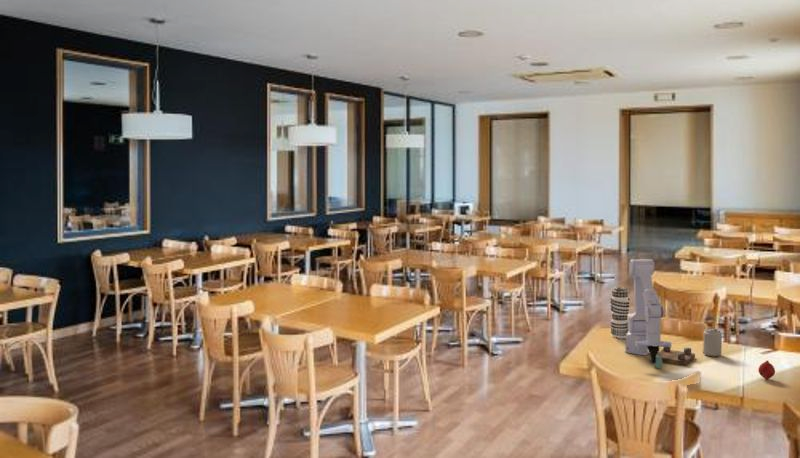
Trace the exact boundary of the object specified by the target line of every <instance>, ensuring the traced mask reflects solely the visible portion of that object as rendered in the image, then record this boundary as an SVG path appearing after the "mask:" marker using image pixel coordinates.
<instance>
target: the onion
mask: <svg viewBox="0 0 800 458" xmlns="http://www.w3.org/2000/svg"><path fill="white" fill-rule="evenodd" d="M757 371H758V373H759V374H760V377H762V378H763V379H765V380H766V381H767V380H769V379H771V378H772V377H774V376H775V374H776V369H775V366H774V365H773V364H772V363H771V362H769V360H765V361H764V362H762V363H761V364H760V365H759V367H758V370H757Z"/></svg>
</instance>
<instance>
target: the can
mask: <svg viewBox="0 0 800 458" xmlns="http://www.w3.org/2000/svg"><path fill="white" fill-rule="evenodd" d="M722 338H723V334H722V332H721V329H720V328H716V327H707V328H705V329H704V331H703V344H702V345H703V346H702V347H703V348H702V353H703V354H704V355H705V356H707V357H711V358H717V357H716V356H718V357H720V356H721V355H722V348H723V347H722V343H723V341H722V340H723V339H722Z"/></svg>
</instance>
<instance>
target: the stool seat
mask: <svg viewBox="0 0 800 458" xmlns="http://www.w3.org/2000/svg"><path fill="white" fill-rule="evenodd" d="M657 354H658V356H659V357H660V358H661V359H662V363H666V364H672V365H675V366H676V365H678V366H683V367H687V366H688V365H690V363H691V362H692V361H693V360H694V359H696V358H695V357H696V353H693V352H692V348H691V347H684V348H683V351H679V350H673V349H671V347H662V349H661V350H659V352H658V353H657Z"/></svg>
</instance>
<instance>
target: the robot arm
mask: <svg viewBox="0 0 800 458" xmlns="http://www.w3.org/2000/svg"><path fill="white" fill-rule="evenodd" d="M628 271H629V272H628V273H629V277H632V279H633V280H632V281H633V302H634V303H633V305H634V306H633V307H634V308H633V309H634V310H633V312H632V313H631V314H630V315H629V316H628V333H627V335H626V338H625V351H624V353H626V354H632V355H633V354H634V355H639V356H647V355H648V354H649V356H650V355H651V362H650V363H651V364H653V365H654V364H655V357H656V355H657V353H658V352H659V351H660V348H661V347H662V348H663V347H670V348H672V342H671V341H665V340H661V339H662V338H661V337H662V336H661V329H662V327H661V326H662V318H664V317H663V316H664V309H663V305H662V304H661V302H660V301H659V297H658V293H657V290H655V289H654V287H653V279H652V275H653V274H654V271H655V261H654V260H653V259H652V258H649V259H647V258H645V259H642V258H641V259H630V261H629V263H628Z"/></svg>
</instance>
